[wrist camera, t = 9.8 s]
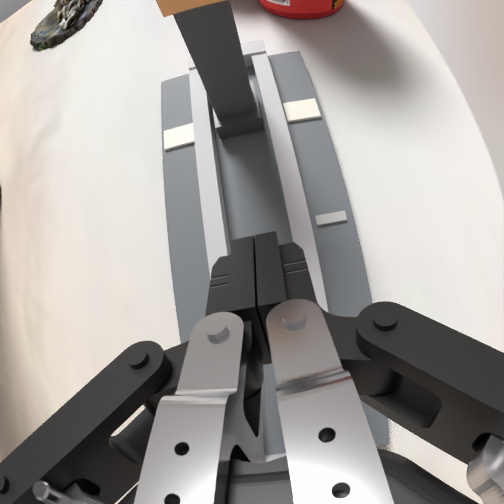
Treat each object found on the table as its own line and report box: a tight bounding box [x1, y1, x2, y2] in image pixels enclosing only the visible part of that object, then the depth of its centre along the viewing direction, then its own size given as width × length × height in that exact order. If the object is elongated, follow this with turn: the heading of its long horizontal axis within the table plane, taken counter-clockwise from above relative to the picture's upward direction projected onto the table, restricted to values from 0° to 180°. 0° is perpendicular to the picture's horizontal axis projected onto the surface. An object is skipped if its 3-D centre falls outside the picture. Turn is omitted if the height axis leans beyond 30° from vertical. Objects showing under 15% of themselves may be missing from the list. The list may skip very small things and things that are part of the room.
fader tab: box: [156, 0, 263, 139], centre depth 13 cm, size 3×3×10 cm
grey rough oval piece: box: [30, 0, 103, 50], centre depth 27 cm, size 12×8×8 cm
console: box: [161, 40, 390, 462], centre depth 17 cm, size 10×26×2 cm, turn 9°
